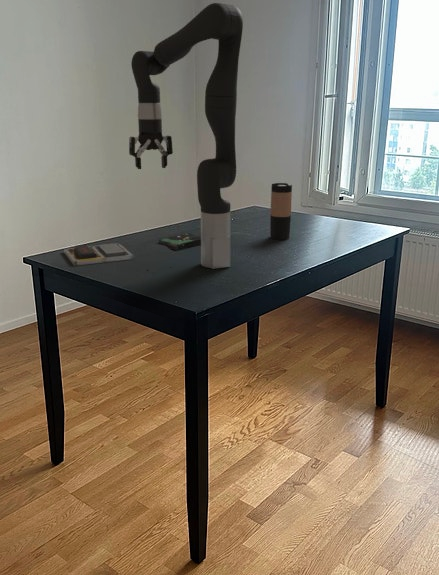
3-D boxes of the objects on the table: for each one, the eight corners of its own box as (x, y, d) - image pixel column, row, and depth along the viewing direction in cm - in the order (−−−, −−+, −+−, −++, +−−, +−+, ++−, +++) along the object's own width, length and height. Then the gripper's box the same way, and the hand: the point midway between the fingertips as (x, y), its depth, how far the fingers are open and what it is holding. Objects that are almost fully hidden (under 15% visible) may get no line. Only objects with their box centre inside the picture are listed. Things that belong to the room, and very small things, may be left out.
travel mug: (268, 239, 217) (269, 185, 211) (271, 234, 225) (273, 182, 218) (288, 240, 216) (290, 186, 209) (291, 235, 223) (293, 183, 216)
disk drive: (188, 239, 219) (158, 246, 209) (188, 232, 218) (158, 239, 208) (207, 244, 212) (177, 251, 202) (207, 237, 211) (177, 244, 201)
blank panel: (125, 257, 189) (125, 251, 189) (107, 259, 187) (106, 253, 186) (115, 248, 200) (115, 243, 199) (98, 250, 197) (97, 245, 197)
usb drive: (81, 261, 184) (80, 253, 183) (71, 252, 194) (71, 244, 193) (97, 259, 187) (96, 251, 186) (87, 251, 197) (86, 243, 196)
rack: (133, 261, 188) (133, 254, 188) (74, 268, 181) (73, 261, 180) (119, 249, 203) (119, 242, 202) (64, 255, 195) (63, 248, 195)
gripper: (131, 118, 182) (134, 170, 187) (174, 117, 188) (175, 168, 193) (125, 117, 189) (127, 168, 194) (166, 116, 194) (168, 166, 200)
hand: (151, 168), depth 193 cm, fingers open, 8 cm apart
